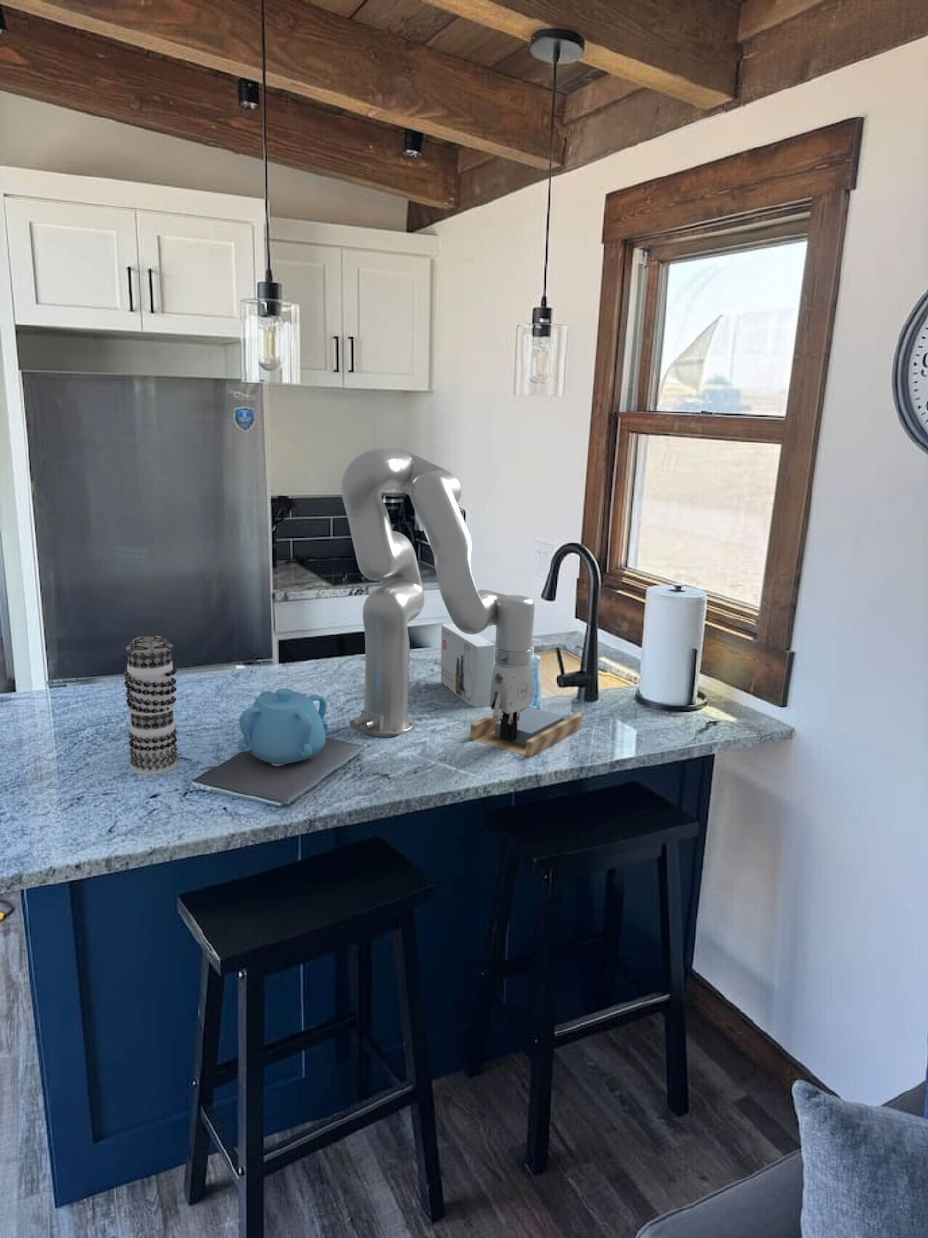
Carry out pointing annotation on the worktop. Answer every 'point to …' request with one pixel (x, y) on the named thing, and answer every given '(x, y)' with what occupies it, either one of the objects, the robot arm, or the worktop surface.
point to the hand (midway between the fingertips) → (508, 739)
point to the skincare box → (467, 665)
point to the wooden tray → (486, 734)
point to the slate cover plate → (532, 724)
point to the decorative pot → (283, 727)
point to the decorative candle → (151, 705)
